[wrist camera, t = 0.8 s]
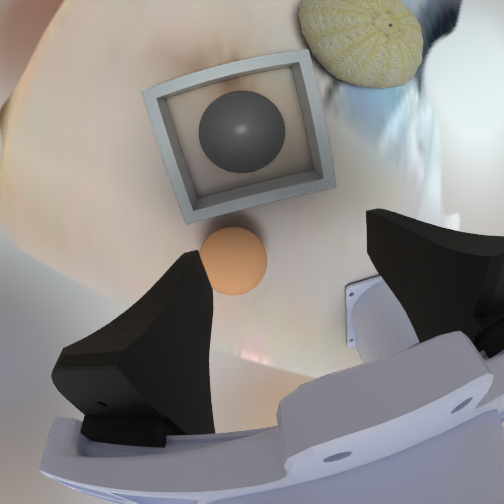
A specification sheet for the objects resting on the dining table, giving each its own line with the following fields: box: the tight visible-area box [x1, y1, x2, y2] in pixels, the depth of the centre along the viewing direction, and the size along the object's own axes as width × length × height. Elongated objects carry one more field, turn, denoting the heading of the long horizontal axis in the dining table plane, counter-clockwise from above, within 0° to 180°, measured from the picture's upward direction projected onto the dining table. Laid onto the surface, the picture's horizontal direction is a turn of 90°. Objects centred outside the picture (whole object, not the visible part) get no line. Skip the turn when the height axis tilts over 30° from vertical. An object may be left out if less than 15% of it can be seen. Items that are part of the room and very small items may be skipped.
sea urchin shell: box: [298, 0, 423, 89], centre depth 13 cm, size 9×8×8 cm
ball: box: [199, 227, 267, 295], centre depth 21 cm, size 5×5×5 cm
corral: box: [142, 49, 336, 225], centre depth 17 cm, size 10×11×2 cm
